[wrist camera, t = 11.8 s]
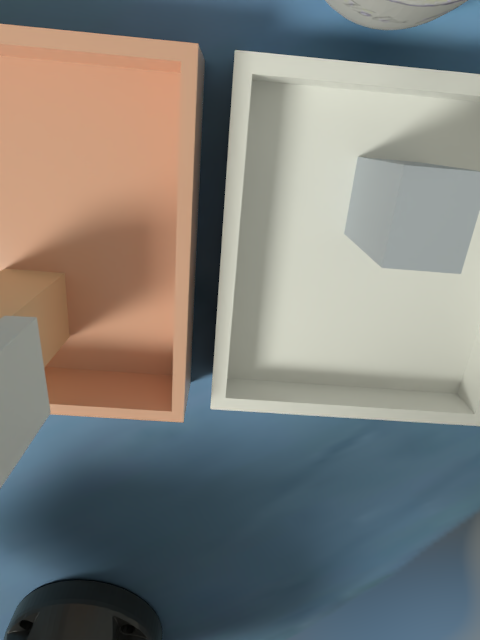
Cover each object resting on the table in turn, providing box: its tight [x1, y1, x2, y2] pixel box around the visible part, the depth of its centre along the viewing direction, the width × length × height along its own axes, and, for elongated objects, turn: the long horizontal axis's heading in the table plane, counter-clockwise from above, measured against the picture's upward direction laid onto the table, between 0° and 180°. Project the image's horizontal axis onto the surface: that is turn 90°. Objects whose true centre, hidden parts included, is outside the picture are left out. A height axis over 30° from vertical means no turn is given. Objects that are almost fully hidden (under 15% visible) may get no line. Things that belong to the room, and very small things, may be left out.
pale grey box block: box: [344, 157, 480, 274], centre depth 24 cm, size 5×4×8 cm
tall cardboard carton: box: [0, 268, 70, 368], centre depth 27 cm, size 5×4×8 cm
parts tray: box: [210, 50, 480, 426], centre depth 28 cm, size 22×20×3 cm
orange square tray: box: [0, 24, 205, 422], centre depth 26 cm, size 22×22×5 cm
